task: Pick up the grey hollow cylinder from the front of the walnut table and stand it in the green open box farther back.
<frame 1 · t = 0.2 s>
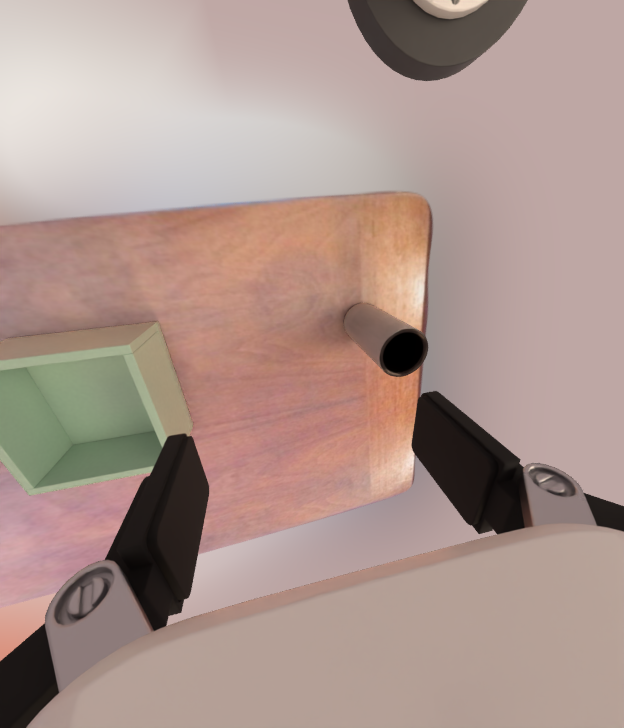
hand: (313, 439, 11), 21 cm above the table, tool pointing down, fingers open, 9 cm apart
green open box: (113, 387, 29), on the table
grey hollow cylinder: (360, 320, 31), on the table
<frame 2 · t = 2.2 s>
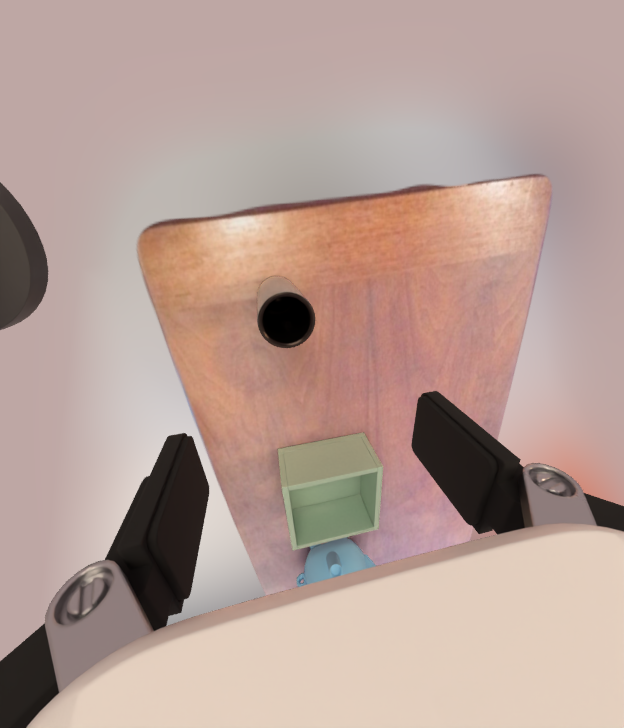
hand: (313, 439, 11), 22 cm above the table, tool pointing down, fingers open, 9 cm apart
green open box: (323, 471, 43), on the table
teapot: (333, 547, 53), on the table
grey hollow cylinder: (277, 296, 29), on the table
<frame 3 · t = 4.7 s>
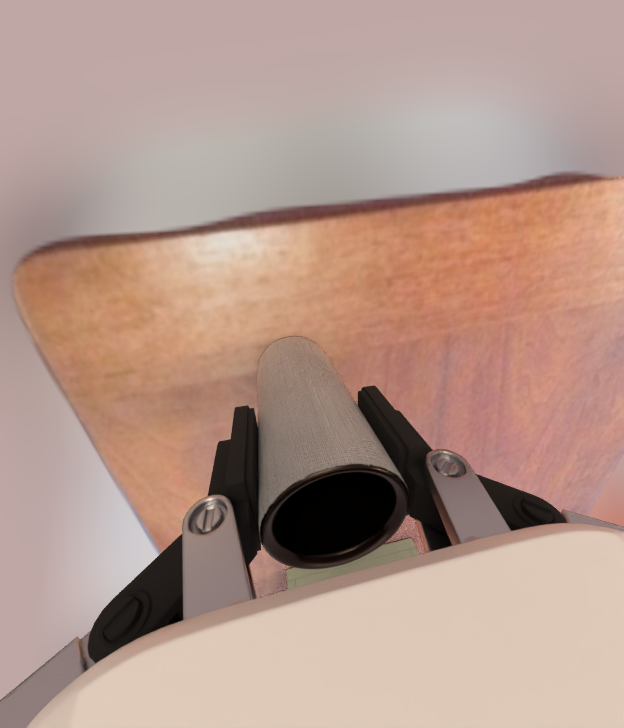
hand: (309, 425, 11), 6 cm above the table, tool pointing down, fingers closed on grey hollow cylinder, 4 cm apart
green open box: (350, 586, 30), on the table
grey hollow cylinder: (292, 367, 17), on the table, touching gripper
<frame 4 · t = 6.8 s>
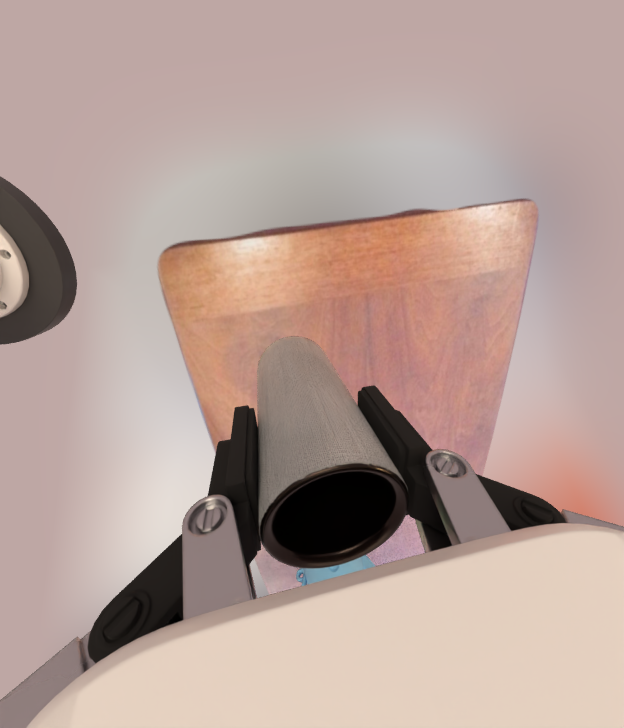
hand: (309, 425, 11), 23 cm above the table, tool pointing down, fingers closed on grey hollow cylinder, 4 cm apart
teapot: (332, 544, 55), on the table
grey hollow cylinder: (292, 367, 17), point 17 cm above the table, touching gripper
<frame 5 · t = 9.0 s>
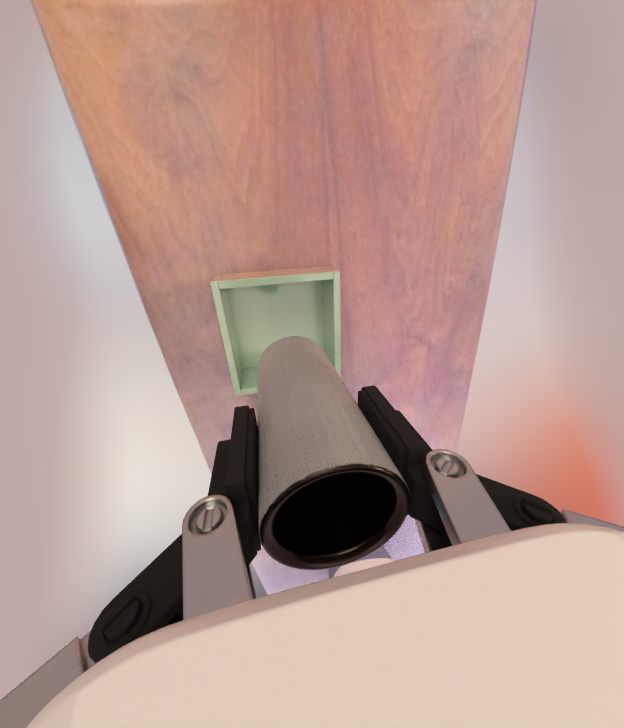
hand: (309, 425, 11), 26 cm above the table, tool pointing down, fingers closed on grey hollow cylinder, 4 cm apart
green open box: (279, 321, 36), on the table
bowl: (350, 543, 63), on the table
grey hollow cylinder: (292, 367, 17), point 20 cm above the table, touching gripper
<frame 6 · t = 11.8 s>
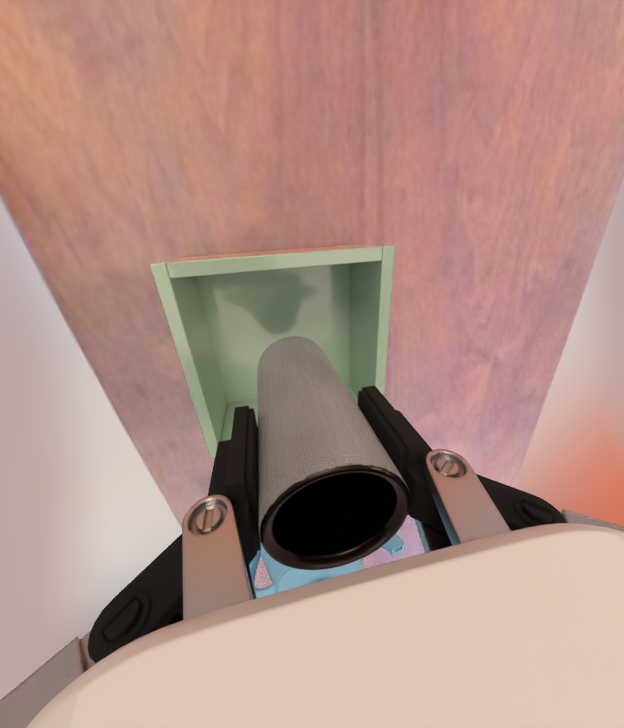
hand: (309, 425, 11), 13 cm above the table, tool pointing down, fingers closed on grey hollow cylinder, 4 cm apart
green open box: (282, 331, 23), on the table
teapot: (308, 492, 33), on the table
grey hollow cylinder: (292, 367, 17), point 8 cm above the table, touching gripper
when the fingers open (7 cm above the table, at t = 13.8 s): grey hollow cylinder stays where it is, resting on green open box.
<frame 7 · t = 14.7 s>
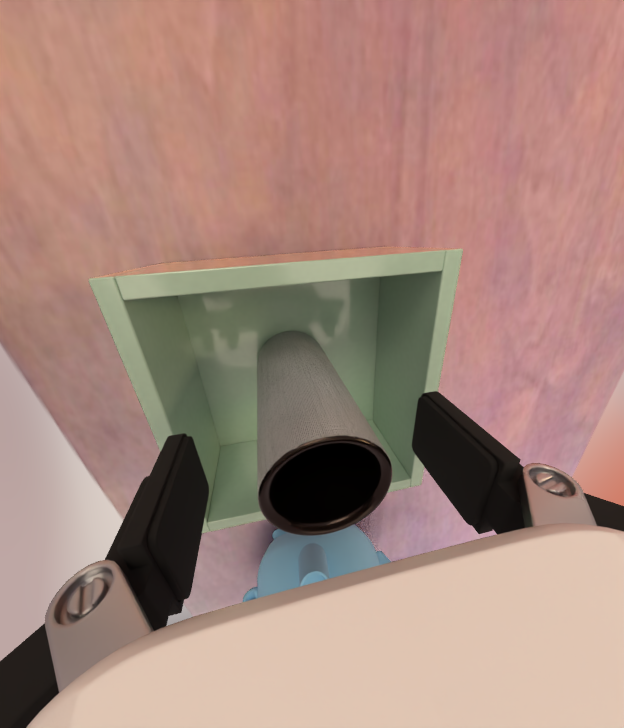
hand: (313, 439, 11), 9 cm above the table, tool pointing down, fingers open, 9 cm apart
green open box: (290, 357, 18), on the table
teapot: (318, 537, 28), on the table
grey hollow cylinder: (290, 360, 18), point 1 cm above the table, touching green open box
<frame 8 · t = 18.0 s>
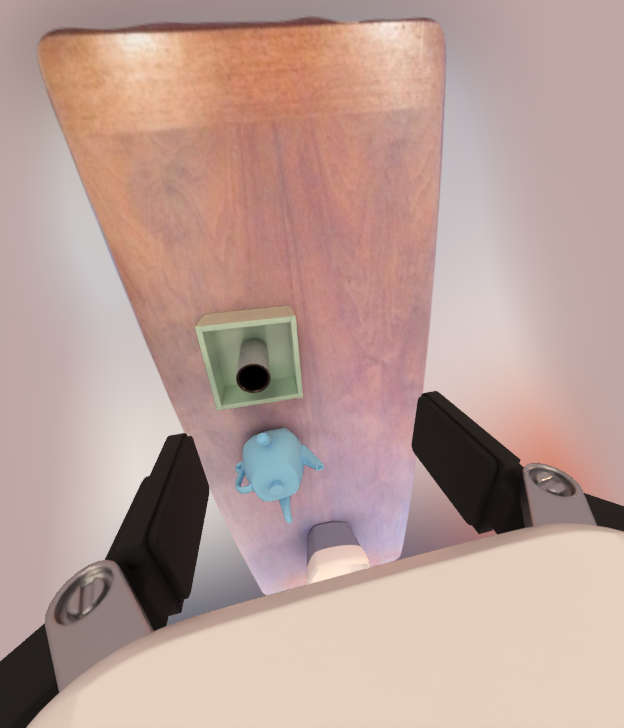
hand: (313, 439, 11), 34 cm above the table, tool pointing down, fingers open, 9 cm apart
green open box: (254, 348, 44), on the table
teapot: (275, 444, 54), on the table
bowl: (327, 534, 71), on the table
grey hollow cylinder: (254, 349, 44), point 1 cm above the table, touching green open box
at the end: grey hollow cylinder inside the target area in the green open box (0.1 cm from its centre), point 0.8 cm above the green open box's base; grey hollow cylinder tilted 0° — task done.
